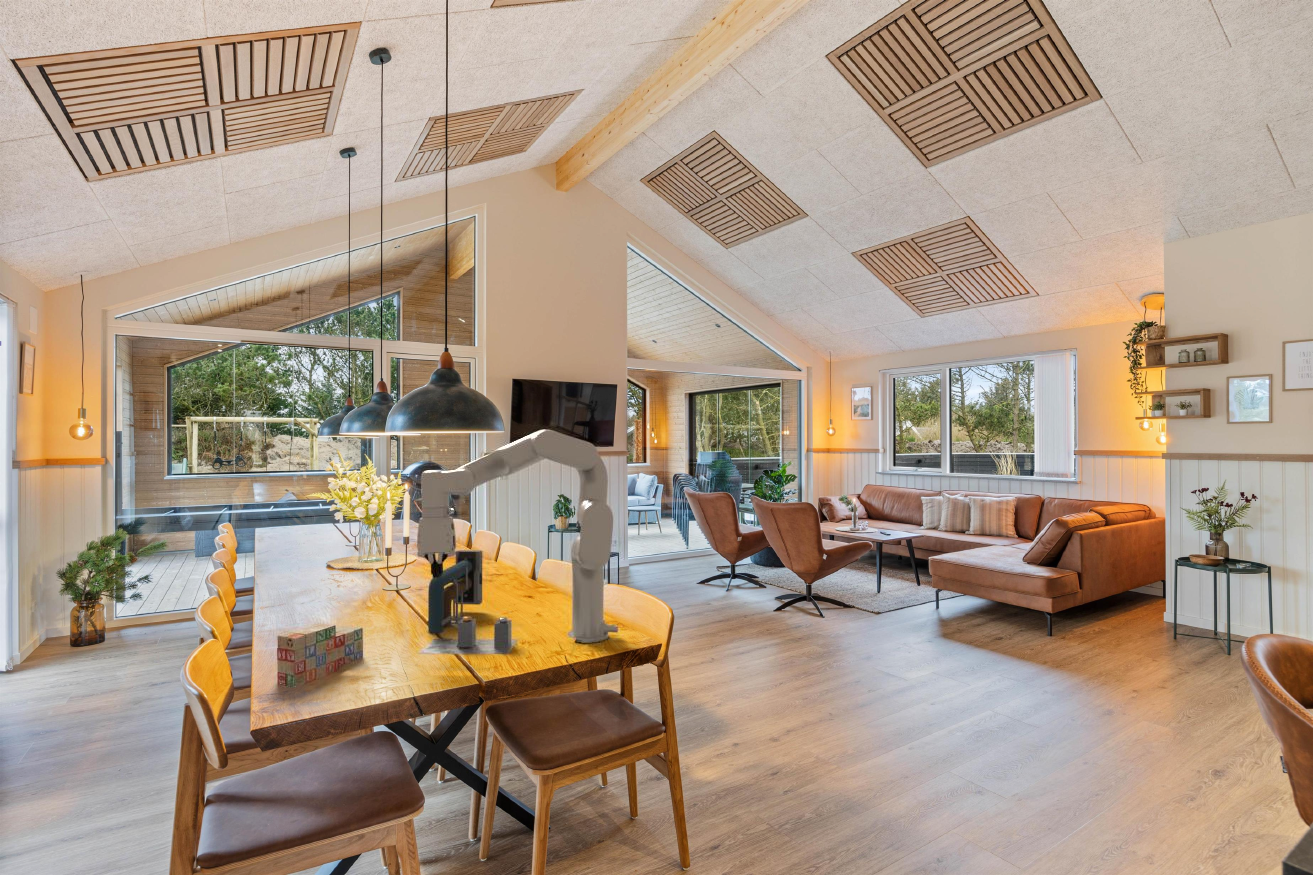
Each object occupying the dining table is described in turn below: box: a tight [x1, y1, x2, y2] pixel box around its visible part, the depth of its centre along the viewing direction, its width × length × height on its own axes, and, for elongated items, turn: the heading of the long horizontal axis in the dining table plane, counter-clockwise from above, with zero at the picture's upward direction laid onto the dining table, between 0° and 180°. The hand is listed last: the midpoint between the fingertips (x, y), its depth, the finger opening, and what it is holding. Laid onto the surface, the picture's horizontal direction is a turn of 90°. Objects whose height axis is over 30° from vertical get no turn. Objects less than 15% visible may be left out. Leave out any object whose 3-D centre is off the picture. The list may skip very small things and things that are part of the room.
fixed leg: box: [493, 616, 512, 648], centre depth 196 cm, size 4×4×8 cm
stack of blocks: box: [276, 622, 364, 687], centre depth 178 cm, size 21×6×12 cm, turn 157°
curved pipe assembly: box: [427, 549, 483, 635], centre depth 223 cm, size 35×9×21 cm, turn 175°
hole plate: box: [417, 638, 519, 655], centre depth 196 cm, size 25×14×1 cm, turn 90°
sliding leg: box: [457, 615, 477, 647], centre depth 196 cm, size 4×4×8 cm
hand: (437, 576), depth 196 cm, fingers closed
